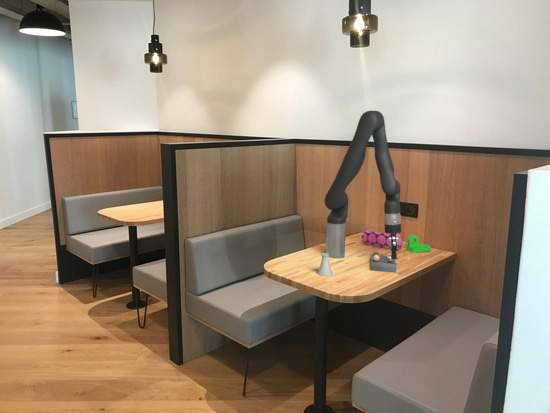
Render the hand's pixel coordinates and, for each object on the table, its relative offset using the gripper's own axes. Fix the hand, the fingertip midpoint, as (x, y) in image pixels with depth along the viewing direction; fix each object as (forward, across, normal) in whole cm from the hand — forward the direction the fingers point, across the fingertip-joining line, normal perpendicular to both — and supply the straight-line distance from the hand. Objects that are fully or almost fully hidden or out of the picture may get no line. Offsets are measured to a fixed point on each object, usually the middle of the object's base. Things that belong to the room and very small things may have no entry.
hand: (394, 258), depth 204 cm
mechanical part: (+5, -35, +16) cm, 39 cm away
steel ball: (0, -2, -2) cm, 3 cm away
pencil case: (+3, -37, -4) cm, 37 cm away
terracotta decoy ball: (0, -1, -8) cm, 8 cm away
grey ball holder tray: (+4, -3, -5) cm, 7 cm away
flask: (+3, +17, -31) cm, 36 cm away
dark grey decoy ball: (0, -6, -8) cm, 10 cm away
